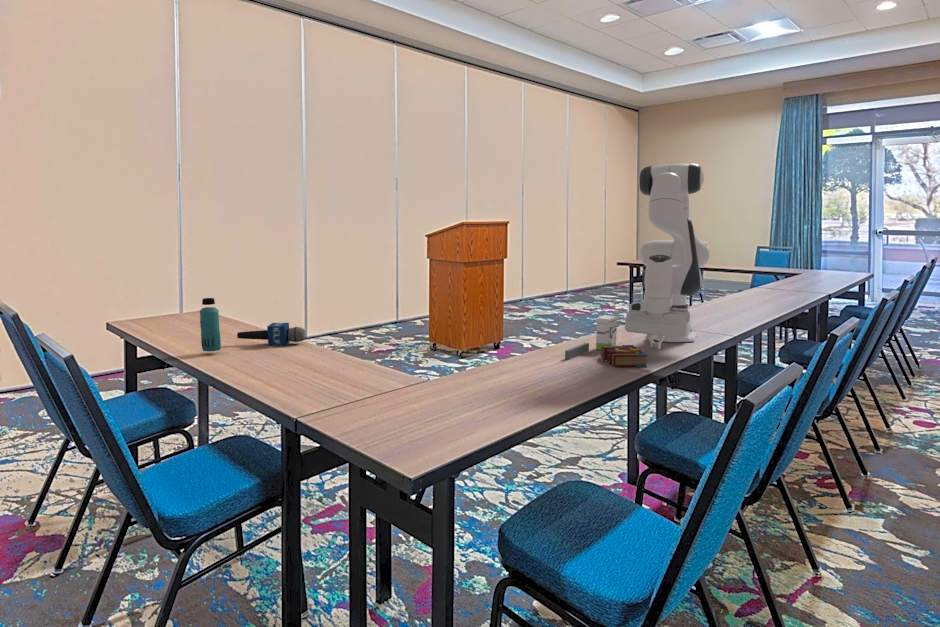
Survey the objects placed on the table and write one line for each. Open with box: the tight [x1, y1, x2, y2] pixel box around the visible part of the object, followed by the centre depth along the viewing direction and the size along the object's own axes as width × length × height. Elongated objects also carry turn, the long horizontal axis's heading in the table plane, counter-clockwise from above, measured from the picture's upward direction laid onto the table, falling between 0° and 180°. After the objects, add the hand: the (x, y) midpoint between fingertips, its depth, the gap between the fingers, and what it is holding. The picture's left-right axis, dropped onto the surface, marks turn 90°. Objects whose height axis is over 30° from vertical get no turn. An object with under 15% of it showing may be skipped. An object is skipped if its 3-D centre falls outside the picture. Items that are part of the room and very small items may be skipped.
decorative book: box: [600, 344, 648, 368], centre depth 211 cm, size 11×16×5 cm
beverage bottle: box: [199, 297, 222, 353], centre depth 221 cm, size 6×7×20 cm
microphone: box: [236, 322, 307, 347], centre depth 238 cm, size 8×8×25 cm
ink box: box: [595, 314, 618, 351], centre depth 231 cm, size 9×5×12 cm, turn 147°
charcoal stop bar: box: [564, 342, 590, 360], centre depth 220 cm, size 16×2×3 cm, turn 145°
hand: (655, 348), depth 204 cm, fingers closed
